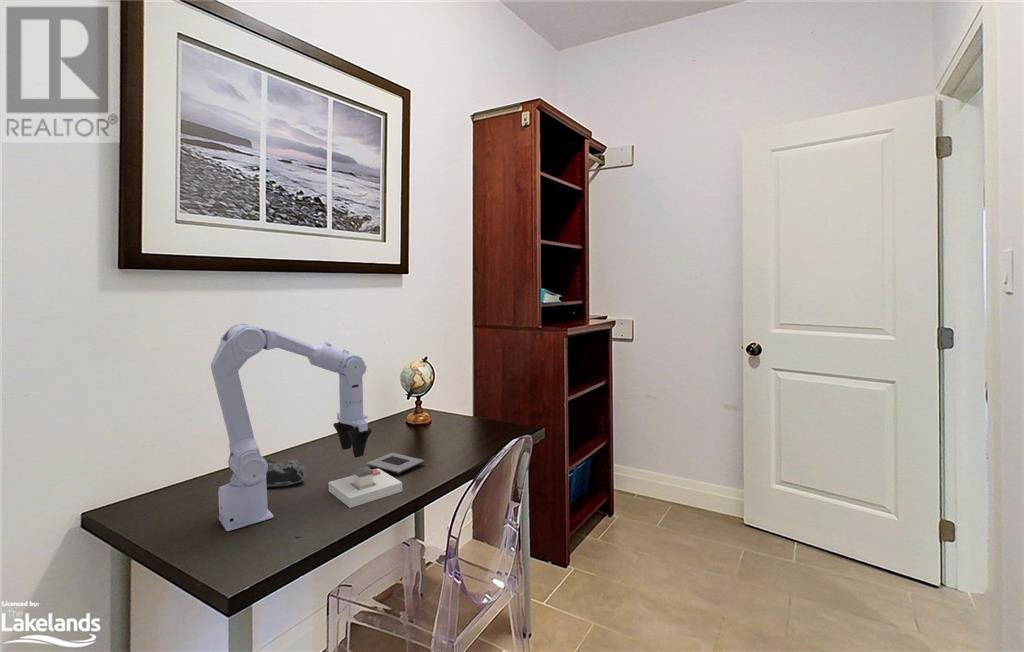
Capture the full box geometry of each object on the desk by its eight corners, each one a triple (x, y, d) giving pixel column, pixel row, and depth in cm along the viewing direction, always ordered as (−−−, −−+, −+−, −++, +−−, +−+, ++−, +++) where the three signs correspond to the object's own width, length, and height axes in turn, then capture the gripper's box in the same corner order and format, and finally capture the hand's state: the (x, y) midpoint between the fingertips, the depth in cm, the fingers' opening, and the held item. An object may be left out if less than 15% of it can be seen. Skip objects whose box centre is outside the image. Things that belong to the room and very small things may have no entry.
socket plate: (349, 508, 114) (349, 495, 114) (328, 491, 124) (328, 479, 124) (402, 491, 124) (402, 480, 123) (378, 476, 133) (378, 466, 133)
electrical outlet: (424, 467, 142) (424, 459, 141) (398, 479, 133) (398, 470, 132) (392, 459, 148) (392, 451, 148) (365, 470, 140) (365, 462, 139)
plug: (359, 497, 120) (359, 473, 119) (353, 492, 123) (353, 469, 122) (373, 493, 122) (372, 470, 122) (367, 488, 125) (366, 466, 124)
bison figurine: (305, 487, 127) (310, 471, 137) (303, 462, 126) (309, 448, 136) (255, 492, 124) (264, 476, 133) (253, 466, 123) (262, 452, 133)
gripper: (378, 403, 120) (379, 456, 121) (354, 394, 131) (355, 442, 132) (351, 408, 116) (352, 462, 117) (328, 397, 127) (330, 448, 128)
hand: (352, 452), depth 124 cm, fingers open, 7 cm apart
